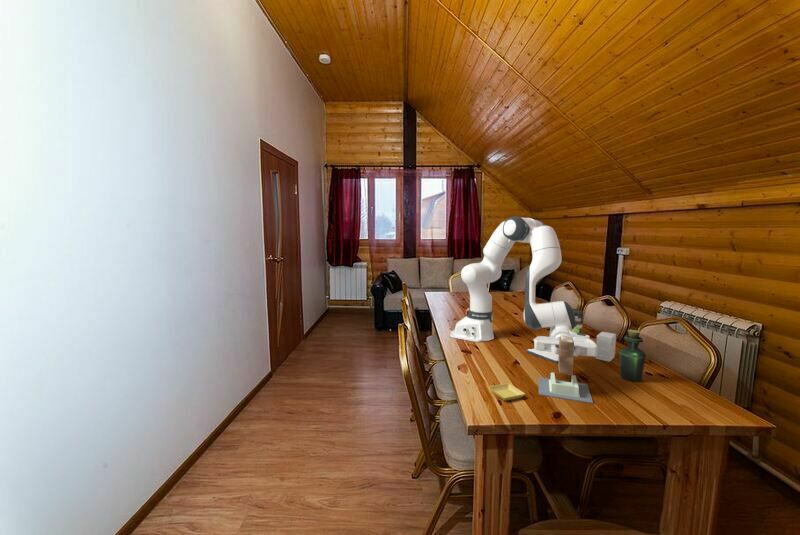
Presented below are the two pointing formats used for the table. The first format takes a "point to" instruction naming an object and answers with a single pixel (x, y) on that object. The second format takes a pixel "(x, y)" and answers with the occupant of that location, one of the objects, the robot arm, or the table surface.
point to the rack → (564, 387)
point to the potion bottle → (632, 357)
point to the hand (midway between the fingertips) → (566, 353)
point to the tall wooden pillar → (566, 355)
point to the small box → (606, 346)
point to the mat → (545, 391)
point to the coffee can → (578, 320)
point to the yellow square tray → (506, 391)
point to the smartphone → (544, 355)
